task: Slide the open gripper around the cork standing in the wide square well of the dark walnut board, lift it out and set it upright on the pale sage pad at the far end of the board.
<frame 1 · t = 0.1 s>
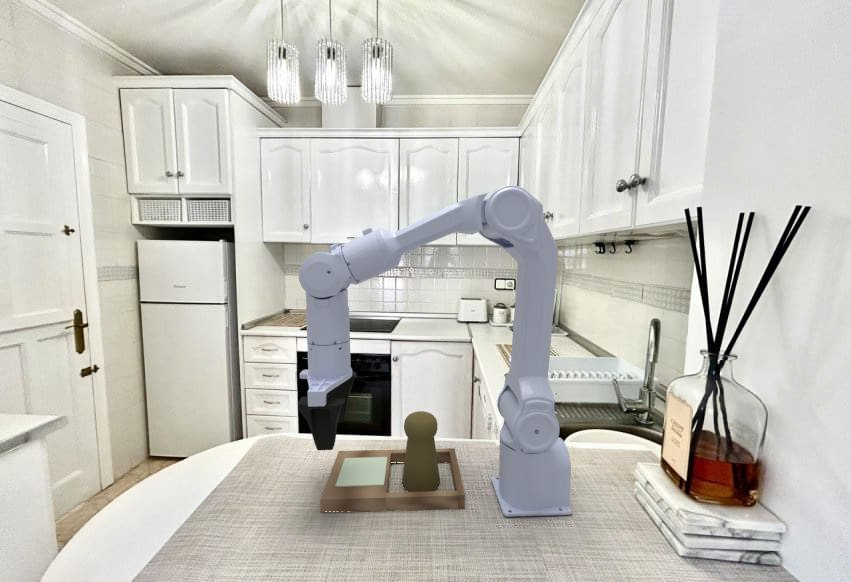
hand: (332, 434, 49), 10 cm above the table, tool pointing down, fingers open, 7 cm apart
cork: (421, 483, 54), resting in well board
well board: (392, 482, 54), on the table
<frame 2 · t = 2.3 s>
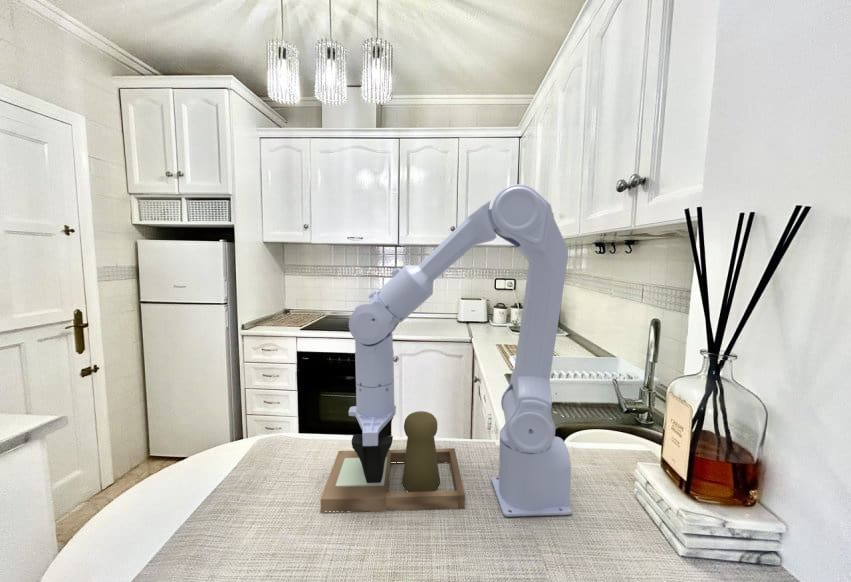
hand: (376, 465, 54), 3 cm above the table, tool pointing down, fingers open, 7 cm apart
nothing on the table moved.
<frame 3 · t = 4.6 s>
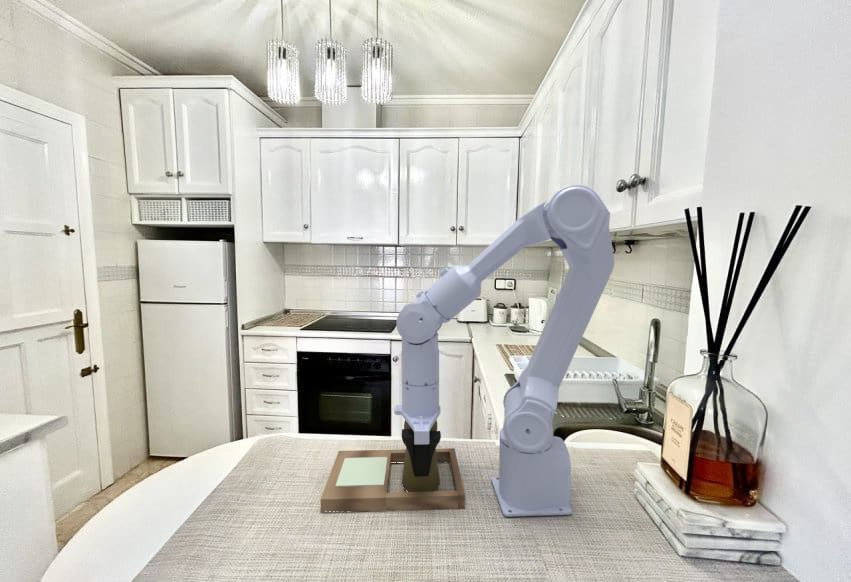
hand: (420, 464, 54), 3 cm above the table, tool pointing down, fingers closed on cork, 5 cm apart
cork: (421, 483, 54), resting in well board, touching gripper
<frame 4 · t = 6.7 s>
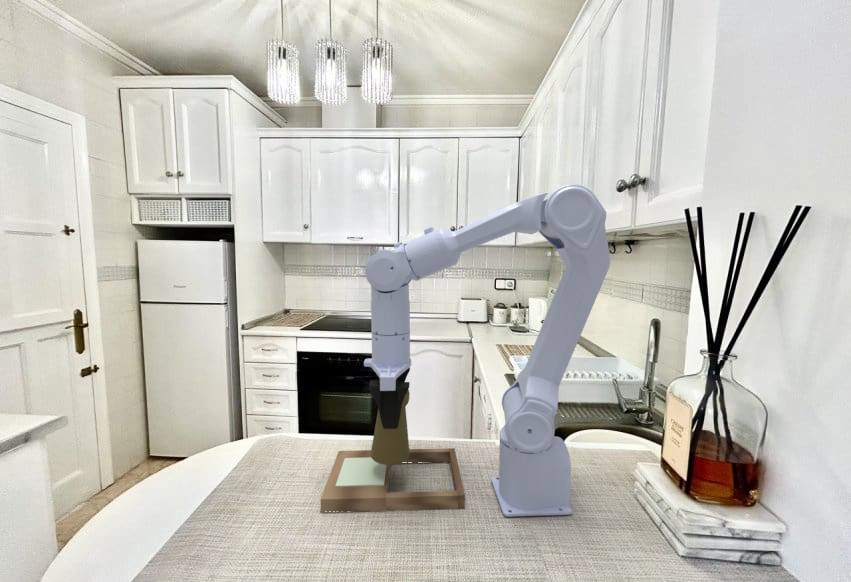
hand: (391, 418, 53), 10 cm above the table, tool pointing down, fingers closed on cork, 5 cm apart
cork: (390, 454, 54), point 5 cm above the table, touching gripper
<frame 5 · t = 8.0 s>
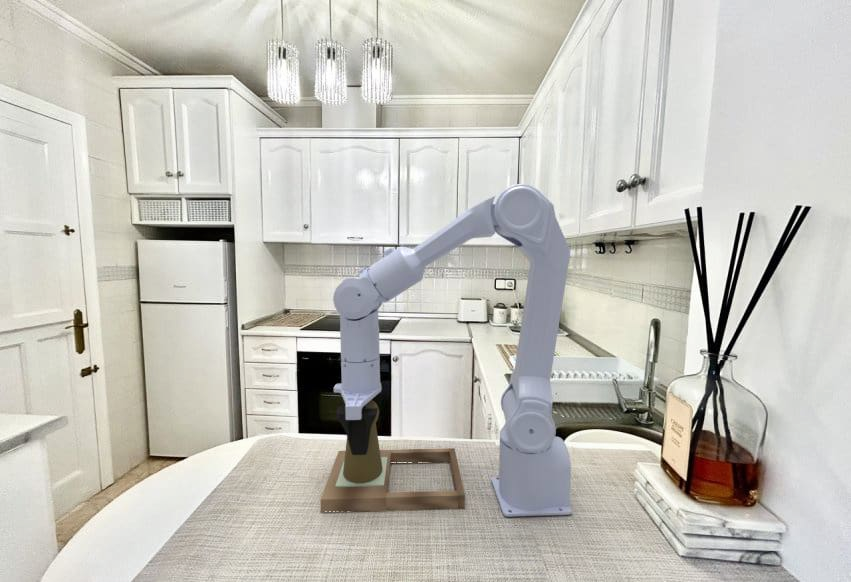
hand: (362, 443, 53), 7 cm above the table, tool pointing down, fingers closed on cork, 5 cm apart
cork: (363, 472, 54), point 2 cm above the table, touching gripper, well board
when the fingers open (6 cm above the table, at t = 8.6 s): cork stays where it is, resting on well board.
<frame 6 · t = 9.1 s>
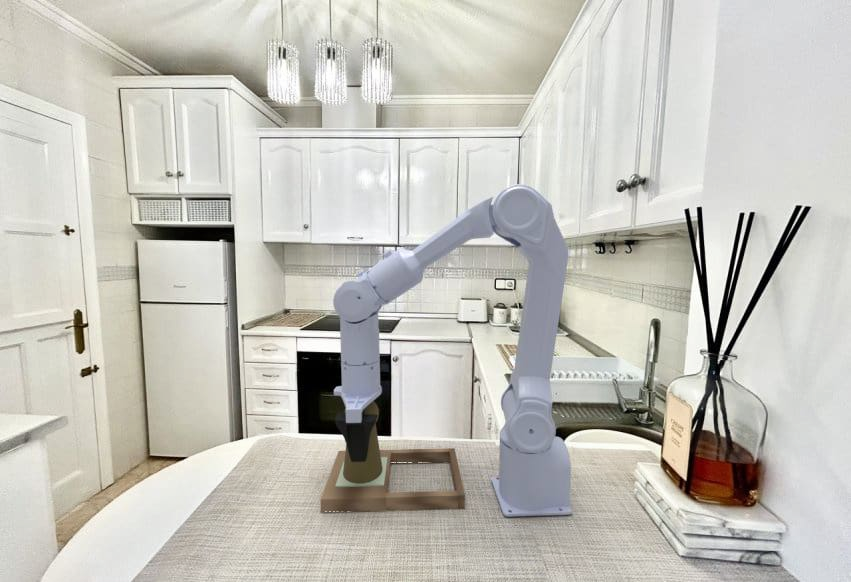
hand: (362, 445, 54), 6 cm above the table, tool pointing down, fingers open, 7 cm apart
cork: (363, 472, 54), point 2 cm above the table, touching well board
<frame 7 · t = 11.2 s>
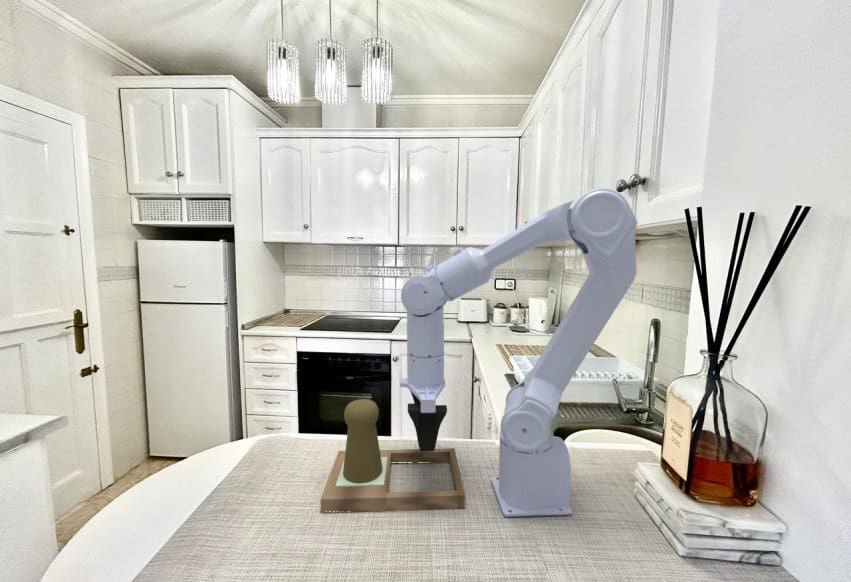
hand: (425, 436, 55), 7 cm above the table, tool pointing down, fingers open, 7 cm apart
nothing on the table moved.
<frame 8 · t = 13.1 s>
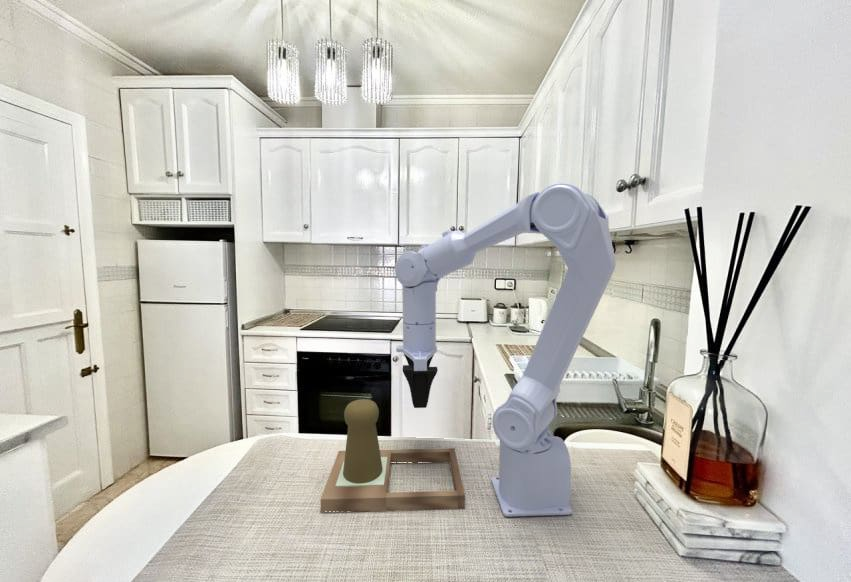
hand: (419, 397, 61), 10 cm above the table, tool pointing down, fingers open, 7 cm apart
nothing on the table moved.
at the end: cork 0.1 cm from the target spot on the well board, point 2.0 cm above the well board's base; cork tilted 0°; the gripper is holding nothing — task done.
